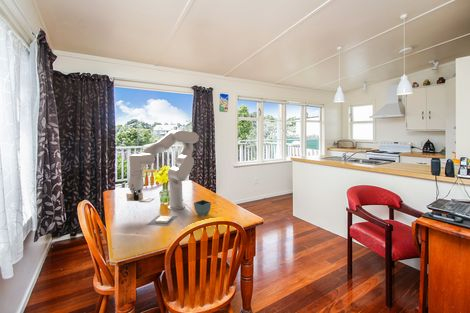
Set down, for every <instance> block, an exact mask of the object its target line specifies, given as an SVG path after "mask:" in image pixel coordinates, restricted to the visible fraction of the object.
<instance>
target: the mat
mask: <svg viewBox="0 0 470 313" xmlns="http://www.w3.org/2000/svg"><path fill="white" fill-rule="evenodd" d="M160 216H163V214H162V215H160V214H159V215H157V216H155V217H154V218H153V219H152V220H150V221H149V222H148V223H147V224H146V226H156V227H157V226H159V227H168V226H170V225H171V223H172V222H173V221H174V220H176V219H177V218H178V216H176V215H171V216H172V219H171V220H170V221H169V222H168V223H155V220H156V219H158V218H159V217H160Z"/></svg>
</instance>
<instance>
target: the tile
mask: <svg viewBox="0 0 470 313" xmlns="http://www.w3.org/2000/svg"><path fill="white" fill-rule="evenodd" d="M172 216H173V215H162V216H160V217H159V218H158V219H156V220H155V223H168V222H169V221H170V220H171V219H172Z"/></svg>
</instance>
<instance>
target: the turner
mask: <svg viewBox="0 0 470 313" xmlns="http://www.w3.org/2000/svg"><path fill="white" fill-rule="evenodd" d="M138 195H139V200H138V201H137V202H138V203H151V202H152V201H154V200H155V198H154V197H143V196H144V194H143V192H142V193H138ZM126 201H127V202H135V201H134V195H133V193H131V192H127V193H126Z"/></svg>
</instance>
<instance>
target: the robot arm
mask: <svg viewBox="0 0 470 313" xmlns="http://www.w3.org/2000/svg"><path fill="white" fill-rule="evenodd" d="M197 142H199V135H198V133H197V132H194V131H188V130H187V131H185V130H180V129H179V130H178V129H177V130H176V129H175V130H173V129H172V130H171V131H169V132H168V133H167V134H165V135H164V136H163V137H162V138H160V139H159V140H158V141H157V142H154V143H153V144H151V145H150V146H148V147H147V148H145V149H144V150H143V151H142V152H141V153H139V154H137V153H136V154H134V153H133V154H130V155H129V173H130V176H129V185H128V187H129V192H130V193H133V195H134V201H133V202H139V201H138V200H139V195H138V193H143V191H142V190H143V189H144V187H145V186H144V183H145V182H144V177H143V176H144V175H143V174H144V173H143V166H144V165H145V166H147V165H148V166H150V165H152V164H154V163H155V160H156V158H155V157H156V155H158V154H160V153H163V152H166V151H168V150H169V149H170V148H171V147H173V145H175V144H176V143H182V148H181V150H180V152H179V153H178V155H177V158H176V159H175V163H176V165H177V166H172V167H171V166H170V167H169V169H168V170H167V178H168V186H169V188H168V189H169V205H168V206H167V209H168V210H171V211H173V210H174V211H180V210H183V209H185V207H186V206H185V205H186V204H184V203H183V202H184V199H183V183H182V182H183V181H184V182H185V180H187V178H188V177H189V175H190V173H191V171H192V169H193V167H194V165H195V160H194V157H193V156H192V154H193V152H194V145H193V144H195V143H197ZM178 166H179V167H178Z"/></svg>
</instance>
